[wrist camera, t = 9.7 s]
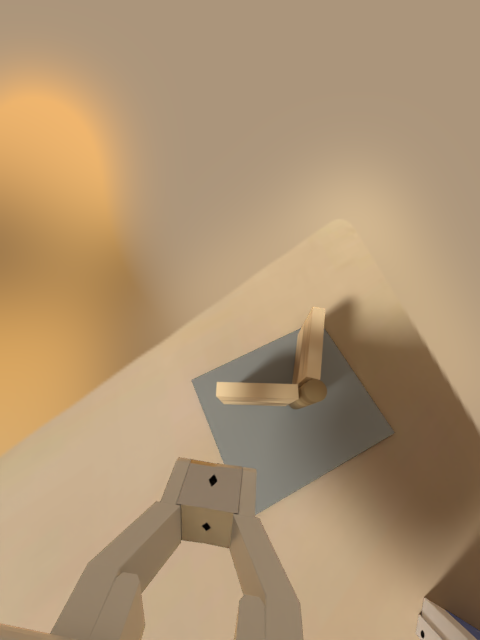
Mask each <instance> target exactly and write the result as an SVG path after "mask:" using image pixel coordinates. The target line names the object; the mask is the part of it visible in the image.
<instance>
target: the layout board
mask: <svg viewBox="0 0 480 640" xmlns="http://www.w3.org/2000/svg"><path fill="white" fill-rule="evenodd" d="M300 330H301V328H300V329H298V330H296V331H294V332H292V333H290V334H288V335H286V336H283V337H281V338H279V339H277V340H275V341H273V342H271V343H269V344H267V345H264V346H262V347H260V348H258V349H256V350H254V351H252V352H250V353H248V354H246V355H243V356H241V357H239V358H237V359H235V360H233V361H231V362H229V363H227V364H224V365H222V366H220V367H218V368H216V369H214V370H212V371H210V372H208V373H205V374H203V375H201V376H199V377H197V378H195V379H193V380H192V383H193V385H194V388H195V391H196V393H197V396H198V398H199V401H200V403H201V406H202V408H203V411H204V414H205V416H206V419H207V421H208V424H209V426H210V429H211V432H212V434H213V437H214V439H215V442H216V444H217V447H218V449H219V452H220V455H221V457H222V460H223V462H224V464H227V465H235V466H242V467H246V468H254V469H256V471H257V476H256V501H255V515H256V514H258V513H259V512H261V511H263V510H265V509H266V508H268V507H270V506H271V505H273V504H275V503H276V502H278V501H280V500H282V499H283V498H285V497H287V496H288V495H290V494H292V493H293V492H295V491H297V490H299V489H300V488H302V487H304V486H305V485H307V484H309V483H310V482H312V481H314V480H316V479H317V478H319V477H321V476H322V475H324V474H326V473H327V472H329V471H331V470H333V469H334V468H336V467H338V466H339V465H341V464H343V463H345V462H346V461H348V460H350V459H351V458H353V457H355V456H356V455H358V454H360V453H362V452H363V451H365V450H367V449H368V448H370V447H372V446H373V445H375V444H377V443H379V442H380V441H382V440H384V439H385V438H387V437H389V436H390V435H392V434H394V431H393V430H392V428H391V427H390V425H389V424H388V422H387V421H386V419H385V418H384V416H383V415H382V413H381V412H380V410H379V409H378V407H377V406H376V404H375V403H374V401H373V400H372V398H371V397H370V395H369V394H368V392H367V391H366V389H365V388H364V386H363V385H362V383H361V382H360V381H359V379H358V378H357V376H356V375H355V373H354V372H353V370H352V369H351V367H350V366H349V364H348V363H347V361H346V360H345V358H344V357H343V355H342V354H341V352H340V351H339V349H338V348H337V346H336V345H335V343H334V342H333V340H332V339H331V337H330V336H329V334H328V333H327V331H326V330H325V328H324V334H323V348H322V362H321V377H320V381H322V382H323V383H324V384H325V386H326V388H327V395H326V397H325V399H324V400H322V401H320V402H317V403H314V404H311V405H309V406H306V407H303V408H300V409H292V408H291V407H290V406H289V405H287V406H262V405H231V404H223V403H222V402H221V401H220V400H219V399H218V398H217V397H216V387H217V382H238V383H272V384H292V380H293V371H294V363H295V354H296V345H297V337H298V333H299V331H300Z"/></svg>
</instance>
